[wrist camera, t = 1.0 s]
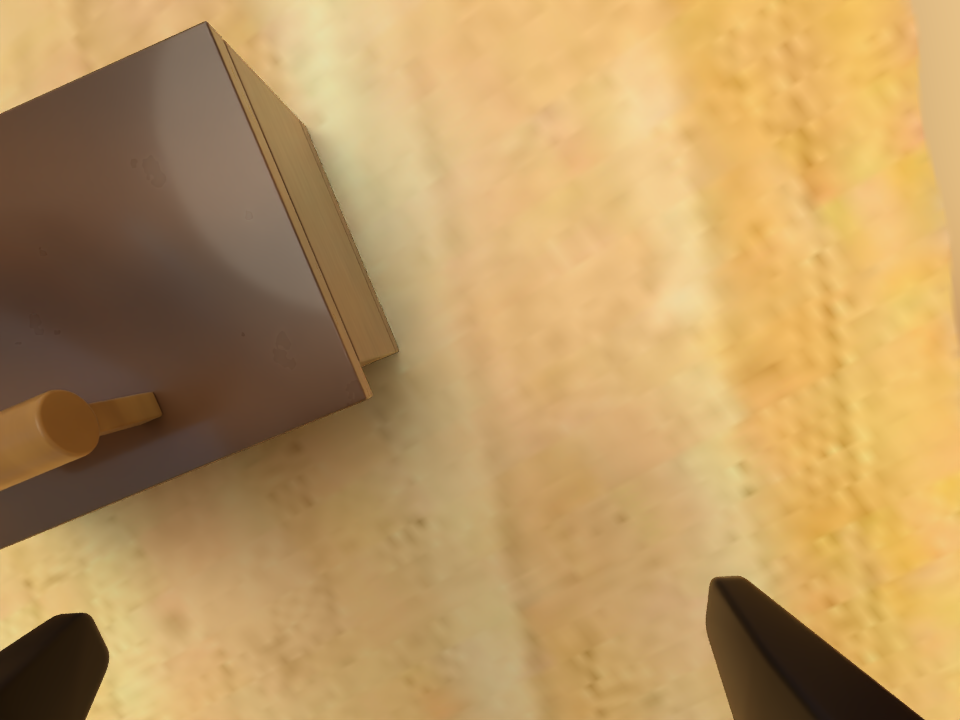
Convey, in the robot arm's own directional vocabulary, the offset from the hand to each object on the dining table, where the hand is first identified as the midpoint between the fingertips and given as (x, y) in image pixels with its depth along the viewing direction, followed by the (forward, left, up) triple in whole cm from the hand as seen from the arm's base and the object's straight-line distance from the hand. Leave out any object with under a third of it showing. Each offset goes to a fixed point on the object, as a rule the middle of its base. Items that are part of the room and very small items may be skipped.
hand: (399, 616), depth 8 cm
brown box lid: (+2, +12, -7) cm, 14 cm away
